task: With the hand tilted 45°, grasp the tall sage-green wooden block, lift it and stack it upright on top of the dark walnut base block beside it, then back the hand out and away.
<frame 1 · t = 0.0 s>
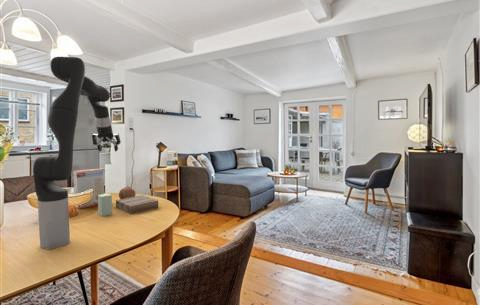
hand: (108, 150, 153), 31 cm above the table, tool tilted 20°, fingers open, 8 cm apart
sage block: (105, 214, 136), on the table
onion: (127, 201, 161), on the table
walnut base: (137, 207, 148), on the table
cracker box: (90, 206, 151), on the table
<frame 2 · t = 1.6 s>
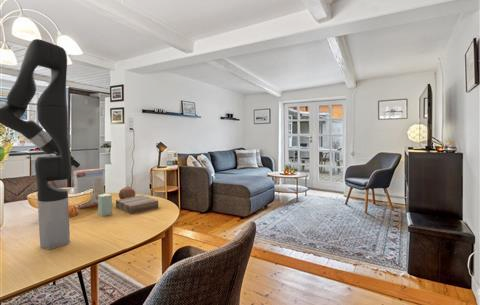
hand: (76, 165, 124), 26 cm above the table, tool tilted 45°, fingers open, 8 cm apart
nothing on the table moved.
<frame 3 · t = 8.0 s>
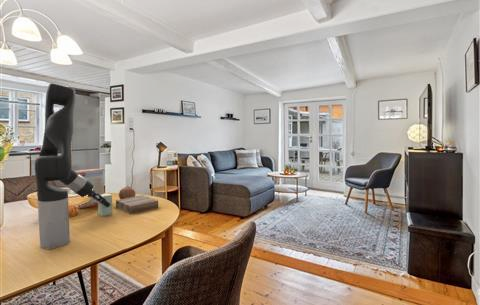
hand: (106, 204, 136), 5 cm above the table, tool tilted 45°, fingers closed on sage block, 5 cm apart
sage block: (105, 213, 136), on the table, touching gripper
everything else where it was.
when the fingers open (10 cm above the table, at t = 13.9 s): sage block drops 1 cm, resting on walnut base.
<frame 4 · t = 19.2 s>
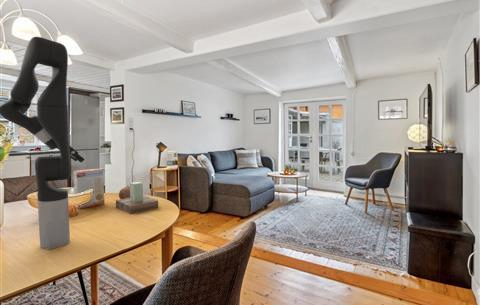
hand: (80, 160, 126), 29 cm above the table, tool tilted 45°, fingers open, 8 cm apart
sage block: (136, 200, 147), point 4 cm above the table, touching walnut base
everything else where it was.
at the end: sage block inside the target area on the walnut base (0.4 cm from its centre), point 4.0 cm above the walnut base's base; sage block tilted 0°; the gripper is holding nothing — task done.
